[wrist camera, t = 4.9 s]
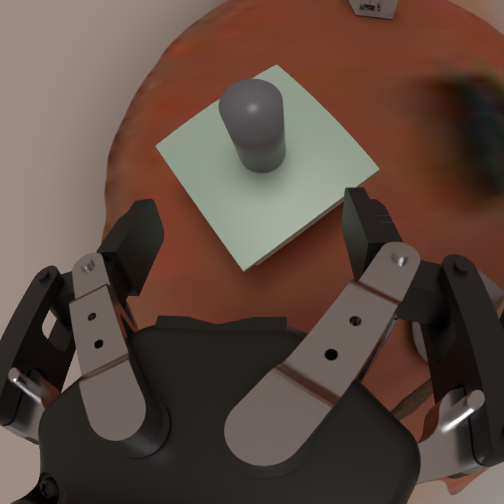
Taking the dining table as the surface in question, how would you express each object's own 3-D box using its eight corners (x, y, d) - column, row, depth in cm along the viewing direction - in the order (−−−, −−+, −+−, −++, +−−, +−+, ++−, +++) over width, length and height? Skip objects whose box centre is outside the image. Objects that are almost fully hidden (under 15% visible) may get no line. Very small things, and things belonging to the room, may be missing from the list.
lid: (372, 178, 22) (411, 128, 13) (247, 271, 23) (220, 269, 14) (277, 78, 24) (270, 8, 15) (165, 155, 25) (113, 106, 16)
